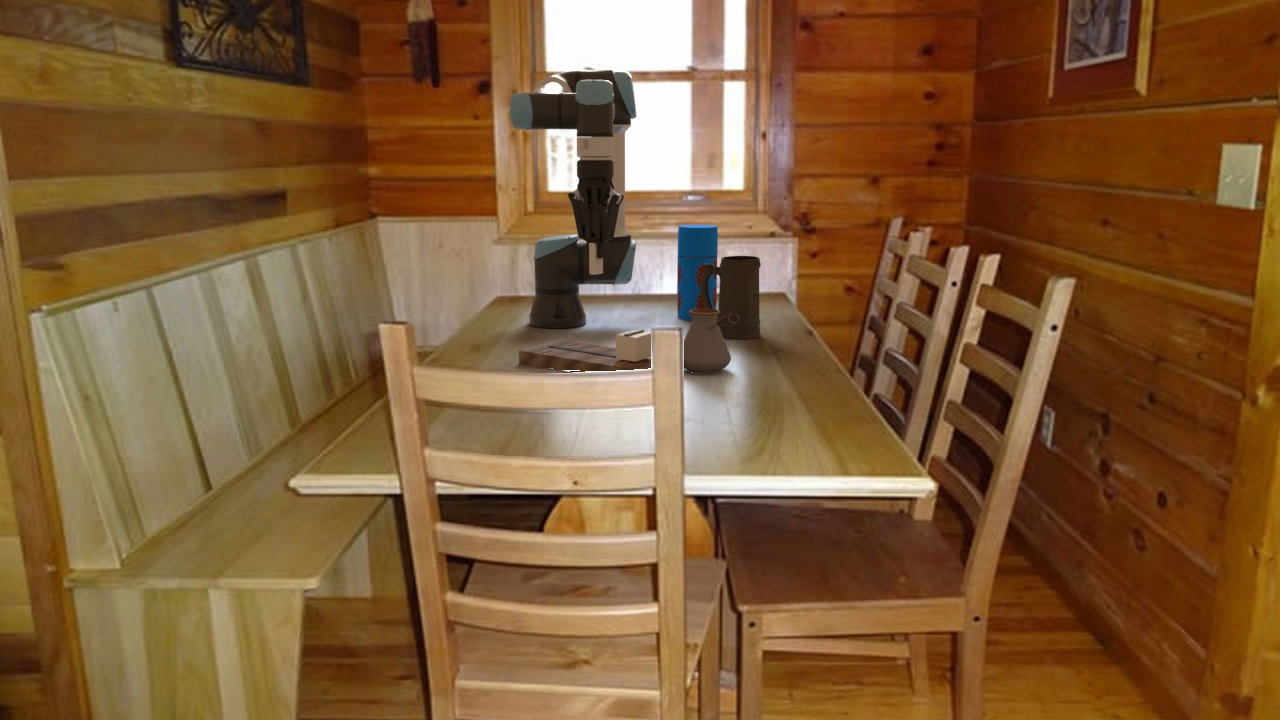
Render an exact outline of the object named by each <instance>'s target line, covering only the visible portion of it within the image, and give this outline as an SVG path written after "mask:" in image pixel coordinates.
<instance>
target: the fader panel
mask: <svg viewBox="0 0 1280 720" xmlns="http://www.w3.org/2000/svg"><path fill="white" fill-rule="evenodd" d="M518 363H519V365H525V366H530V367H536V368H541V369H546V368H553V369H555V370H554V371H557V370H580V371H570V372H585V371H616V370H634V369H648V368H651V357H649V358H646V359H643V360H640V361H636V362H634V361H628V360H622V359H616V347H610V346H605V345H599V344H592V343H591V344H590V343H585V342H584V343H583V342H577V341H571V340H564V339H557V340H554V341H549V342H546V343H542V344H538V345H534V346H530V347H527V348H523V349H520V350H519V349H518Z"/></svg>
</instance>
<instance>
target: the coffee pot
mask: <svg viewBox="0 0 1280 720" xmlns="http://www.w3.org/2000/svg"><path fill="white" fill-rule="evenodd" d="M689 314H690V315H691V317H692V320H691V323H690V326H689V328H688V330H687V332H686V335H685V336H684V339H683V341H684V368H683V369H684V370H686V369H687V371H686V372H687V373H689V372H693V373H697V374H696V375H702V374H703V375H706V376H707V375H717V374H719V373H722V372H723V370H724V369H725V368H727V366H729V364H730V363H731V360H732V356H731V353H730V351H729V347H728V346H727V344H726V340H725V338H723V335H722V333H721V330H720V328H719V325H721V324H723V323H726V322H727V321H728V320H729V321H730V320H731V319H732V318H733V317H734V316H735V315H736V314H735V313H731V314H727V316H724V317H722V318H721V319H720V320H718V321H717V317H718V314H720V311H719V310H718V309H717V308H716V309H707V308H701V309H692V310H690V311H689ZM737 316H738V315H737ZM738 318H739V316H738ZM738 321H739V320H738ZM738 321H737V322H738ZM730 322H731V321H730ZM737 322H735V323H737ZM731 323H734V322H731ZM688 371H689V372H688ZM693 373H692V374H693Z"/></svg>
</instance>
